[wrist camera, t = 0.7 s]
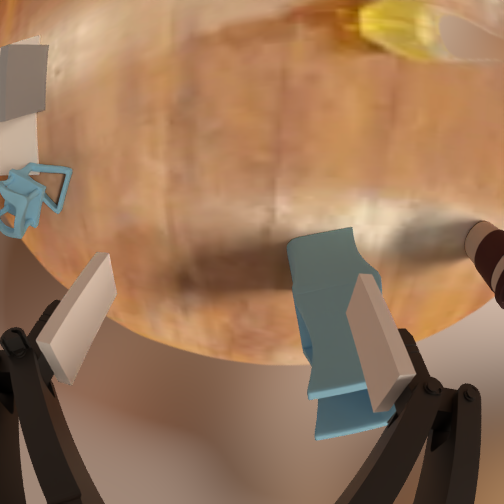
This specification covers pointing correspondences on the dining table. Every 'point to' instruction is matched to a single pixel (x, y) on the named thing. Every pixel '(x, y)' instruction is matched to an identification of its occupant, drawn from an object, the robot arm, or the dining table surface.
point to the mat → (19, 136)
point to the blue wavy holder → (332, 330)
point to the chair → (28, 197)
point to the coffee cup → (488, 256)
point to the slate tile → (22, 80)
